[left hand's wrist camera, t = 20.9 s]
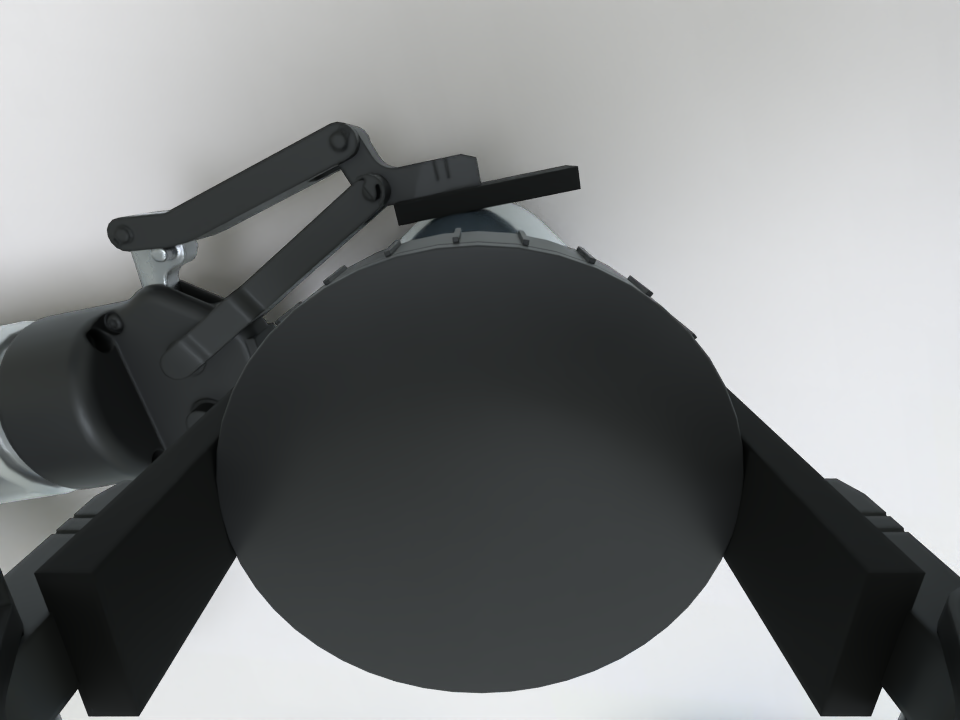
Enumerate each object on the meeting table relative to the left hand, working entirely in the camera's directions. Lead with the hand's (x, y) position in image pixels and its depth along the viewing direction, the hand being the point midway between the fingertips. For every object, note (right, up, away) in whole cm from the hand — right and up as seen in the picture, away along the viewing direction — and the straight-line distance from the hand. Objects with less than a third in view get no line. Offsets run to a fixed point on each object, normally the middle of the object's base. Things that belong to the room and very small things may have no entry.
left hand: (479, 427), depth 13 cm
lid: (0, -1, -3) cm, 3 cm away
